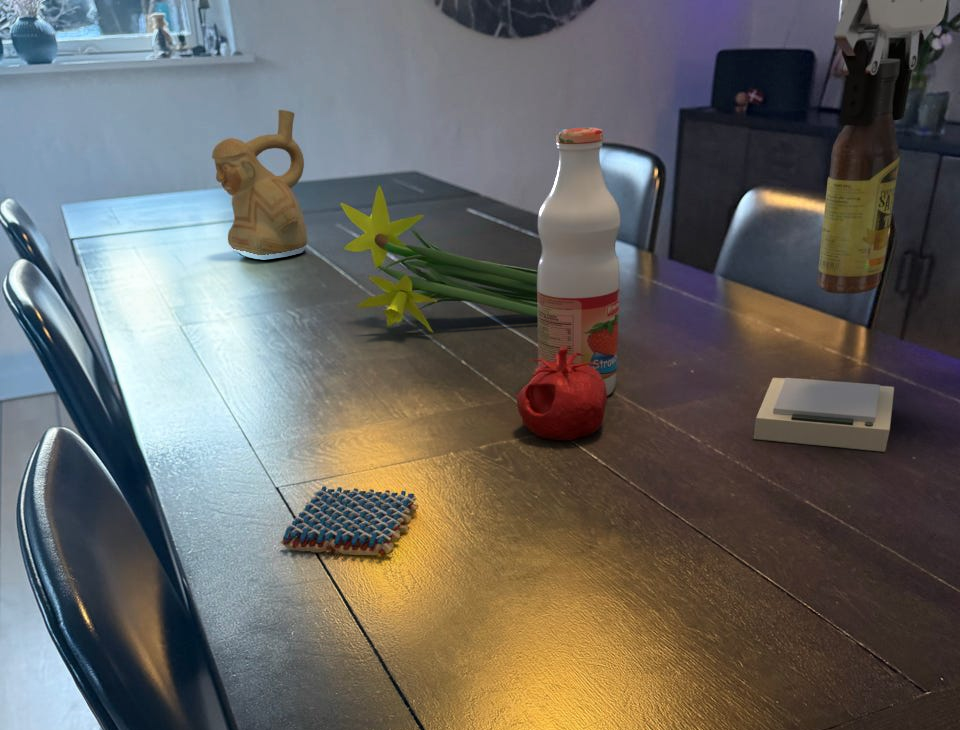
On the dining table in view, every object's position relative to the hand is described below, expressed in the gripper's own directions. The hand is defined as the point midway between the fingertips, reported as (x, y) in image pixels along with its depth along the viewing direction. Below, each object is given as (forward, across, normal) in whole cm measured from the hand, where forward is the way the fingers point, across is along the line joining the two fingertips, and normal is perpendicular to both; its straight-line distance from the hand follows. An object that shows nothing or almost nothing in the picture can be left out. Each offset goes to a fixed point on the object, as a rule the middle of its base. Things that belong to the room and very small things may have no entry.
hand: (871, 119), depth 86 cm
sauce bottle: (+15, +1, 0) cm, 15 cm away
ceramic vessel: (+29, +1, +128) cm, 131 cm away
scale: (+29, -2, -1) cm, 29 cm away
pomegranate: (+29, -23, +18) cm, 41 cm away
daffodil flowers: (+29, -4, +60) cm, 66 cm away
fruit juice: (+29, -13, +26) cm, 41 cm away
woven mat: (+29, -53, +14) cm, 62 cm away
